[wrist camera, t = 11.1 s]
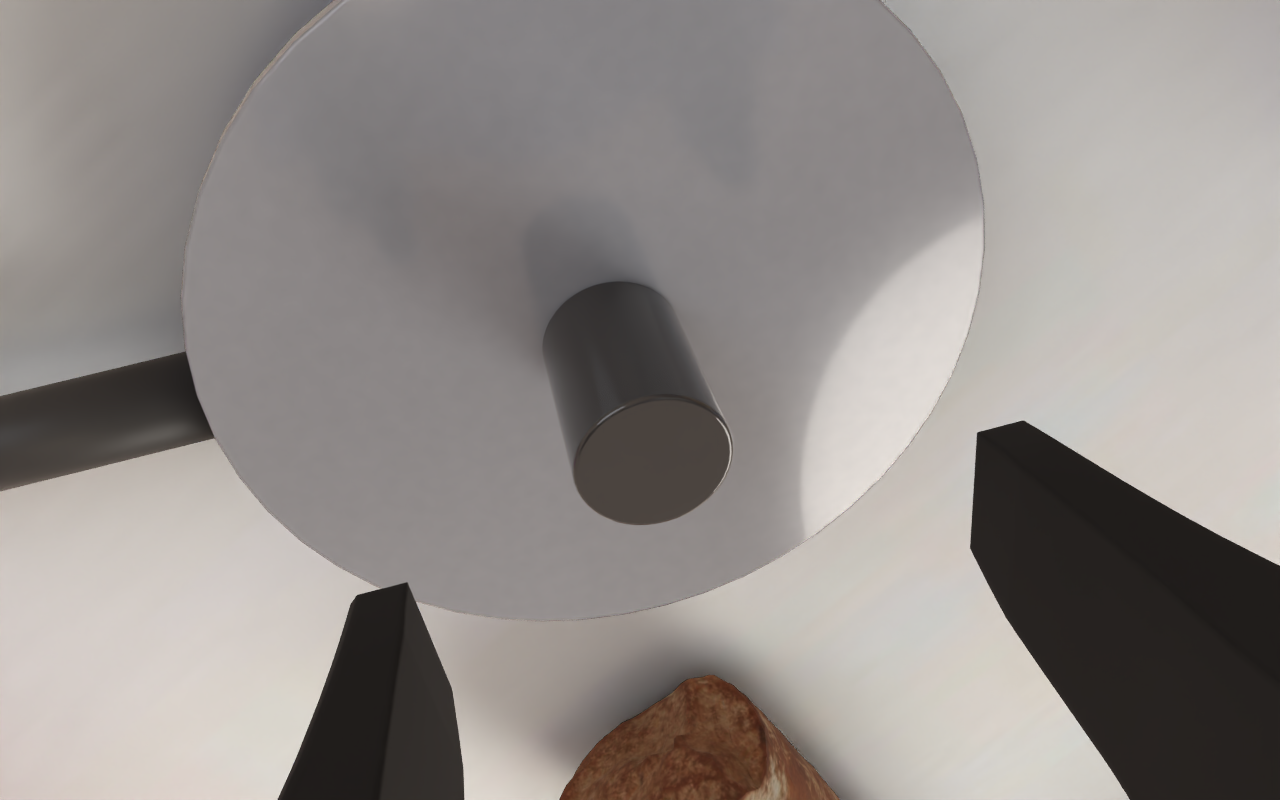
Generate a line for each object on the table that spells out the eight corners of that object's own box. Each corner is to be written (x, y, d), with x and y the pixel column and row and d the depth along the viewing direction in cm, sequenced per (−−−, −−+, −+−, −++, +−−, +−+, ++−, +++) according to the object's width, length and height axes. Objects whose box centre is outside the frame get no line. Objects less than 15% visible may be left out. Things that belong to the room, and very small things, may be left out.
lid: (973, -195, 15) (1161, -149, 12) (948, 491, 23) (1053, 643, 20) (24, 7, 14) (-94, 128, 10) (346, 651, 22) (342, 843, 19)
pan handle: (283, 311, 19) (277, 359, 17) (314, 382, 20) (310, 432, 18) (-268, 443, 18) (-317, 504, 17) (-209, 510, 19) (-251, 572, 18)
